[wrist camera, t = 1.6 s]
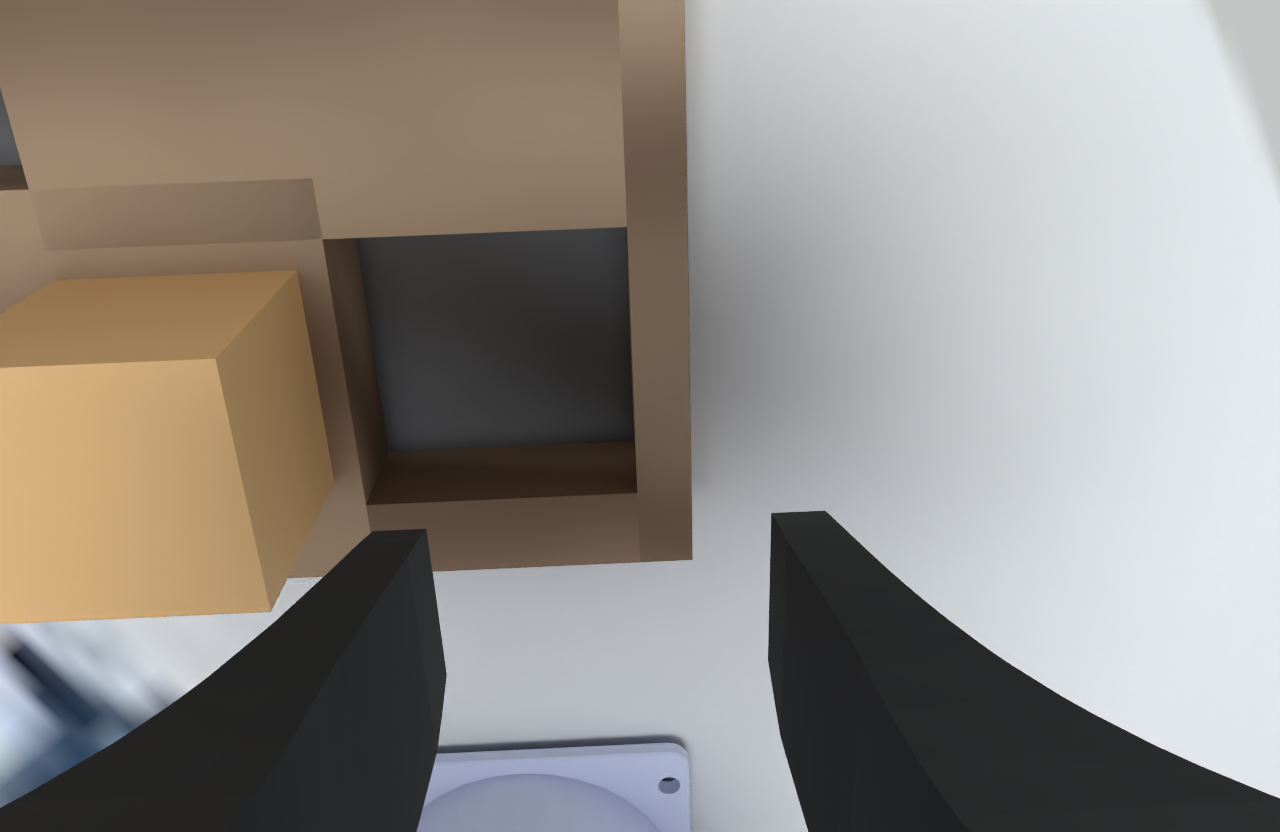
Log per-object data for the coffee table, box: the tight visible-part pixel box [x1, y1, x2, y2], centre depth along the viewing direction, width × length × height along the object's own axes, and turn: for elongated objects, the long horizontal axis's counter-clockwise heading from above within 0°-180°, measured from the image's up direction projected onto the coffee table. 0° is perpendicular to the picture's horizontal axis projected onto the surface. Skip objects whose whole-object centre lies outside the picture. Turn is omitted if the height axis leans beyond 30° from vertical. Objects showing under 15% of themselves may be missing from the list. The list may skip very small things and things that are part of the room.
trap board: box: [0, 0, 692, 578], centre depth 18 cm, size 14×19×2 cm
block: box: [0, 270, 334, 624], centre depth 16 cm, size 4×4×4 cm
